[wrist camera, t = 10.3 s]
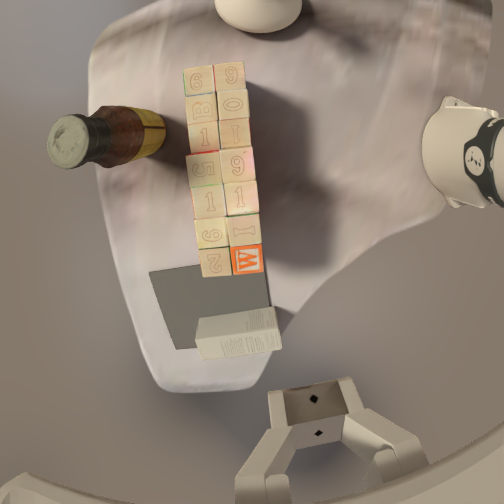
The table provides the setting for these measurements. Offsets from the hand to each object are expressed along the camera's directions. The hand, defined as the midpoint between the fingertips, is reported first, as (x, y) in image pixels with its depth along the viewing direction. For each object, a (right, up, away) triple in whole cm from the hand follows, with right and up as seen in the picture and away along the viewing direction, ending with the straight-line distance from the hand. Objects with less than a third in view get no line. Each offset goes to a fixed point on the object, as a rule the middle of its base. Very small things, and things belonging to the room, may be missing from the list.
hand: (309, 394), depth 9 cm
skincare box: (+2, -6, +32) cm, 33 cm away
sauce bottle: (-16, +21, +25) cm, 36 cm away
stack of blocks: (-5, +17, +27) cm, 32 cm away
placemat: (-8, -3, +35) cm, 36 cm away
